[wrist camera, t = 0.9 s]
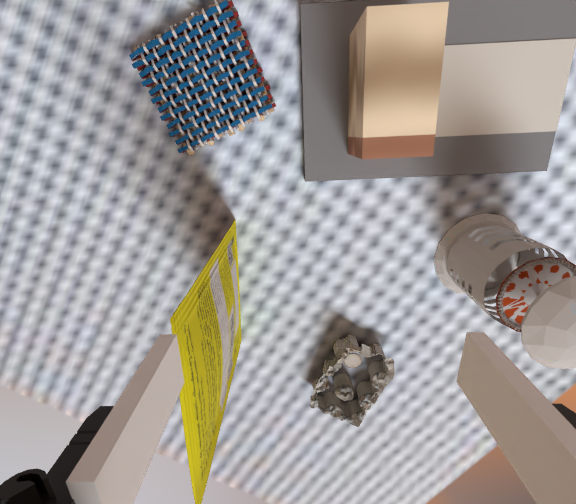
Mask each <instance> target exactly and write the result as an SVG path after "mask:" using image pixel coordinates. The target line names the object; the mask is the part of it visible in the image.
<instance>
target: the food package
mask: <svg viewBox="0 0 576 504" xmlns="http://www.w3.org/2000/svg"><path fill="white" fill-rule="evenodd" d="M235 221H236V220H234V222H233V224H232V226H231V227H230V229H229V230H228V232H227V233H226V235H225V236H224V238H223V239H222V241H221V242H220V244H219V246H218V247H217V249H216V250H215V252H214V253H213V255H212V256H211V258H210V259H209V261H208V262H207V264H206V265H205V267H204V269H203V270H202V272H201V273H200V275H199V276H198V278H197V279H196V281H195V283H194V284H193V286H192V287H191V289H190V290H189V292H188V293H187V295H186V296H185V298H184V299H183V301H182V302H181V303H180V304H179V306H178V308H177V309H176V311H175V312H174V313H173V316H172V317H171V319H170V322H171V325H172V333H173V334H177V340H178V346H179V353H180V359H181V365H182V371H183V378H184V384H183V387H182V389H181V391H180V394H179V396H180V403H181V411H182V418H183V426H184V433H185V441H186V448H187V454H188V461H189V468H190V474H191V482H192V488H193V494H194V499H195V504H201V502H202V497H203V494H204V491H205V487H206V483H207V480H208V476H209V472H210V468H211V463H212V459H213V455H214V451H215V447H216V443H217V439H218V434H219V430H220V426H221V422H222V418H223V414H224V410H225V406H226V402H227V398H228V393H229V389H230V385H231V381H232V377H233V373H234V369H235V365H236V361H237V357H238V353H239V348H240V344H241V340H242V339H241V320H240V294H239V274H238V255H237V241H236V222H235Z"/></svg>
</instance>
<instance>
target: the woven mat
mask: <svg viewBox="0 0 576 504" xmlns="http://www.w3.org/2000/svg"><path fill="white" fill-rule="evenodd" d="M214 2H215V4H210V5H209V9H208V10H207V11H206V12H205V11H204V9H203V8H202V10H201V12H200V13H199V12H198V11H197V12H195V13H196V15H197V16H195V14H194V12H192V13H191V15H192V16H190V17H189V18H187V17H186V18H185V20H186V22H184V23H183V22H182V21H181V22H179V23H180V26H179V27H178V25H177V24H174V25H175V28H176V30H174V28H173V25H170V28H171V31H167V30H165V31H164V32H165V34H164V35H163V36H162V35H161V34H156V39H155V38H154V39H153V40H152V41H151V39H149V40H148V44H147V45H145V43H142V46H143V47H140V46H139V45H138V46H136V47H135V48H134V49H133V50H134V52H133V53H132V54H130V55H129V56H130V58H131V60H132V61H134V60H136V59H138V58H139V59H140V61H137V62H135V63H133V64H132V66H133V67H134V68H137V69H138V71H139V70H141V69H142V68H144V70H143V71H142V72H140V73H139V75H140V76H141V78H142V79H144V78H146V77H148V76H149V78H150V79H147V80H145V81H143V82H141V83H142V84H143V86H146V87H149V86H151V85H153V86H154V88H153V89H152V90H150V91H149V93H150V95H151V96H153V95H155V94H157V96H158V97H156V98H153V99H152V100H151V101H152V103H153V104H154V103H156V104H160V103H161V104H162V106H161V107H159V108H158V110H159V112H160V113H161V112H163V111H165V110H166V111H167V114H165V115H163V116H161V117H160V118H161V120H162V121H163V120H165V121H166V120H168V119H170V118H171V120H172V122H171V123H169V124H167V127H168V129H170V128H172V127H174V126H175V128H176V130H175V131H172V132H170V133H169V135H170V137H172V136H173V137H174V136H176V135H178V134H179V136H180V137H181V138H180V139H178V140H176V141H175V142H176V144H177V145H178V144H180V143H182V142H183V147H182V148H180V149H177V150H178V152H179V153H181V152H182V153H183V152H185V151H187V153H188V154H189V155H193V154H194V153H195V151H194V150H193V148H194V147H196V150H197V149H199V148H198V145H199V146H200V147H201V146H202V147H203V146H204V143H203V142H205V144H206V145H207V144H209V145H211V146H212V145H213V144H214V138H213V137H215V136H216V138H217V139H220V137H222V136H223V137H225V133H224V132H226V134H229V135H230V136H231V135H233V134H235V131H234V129H233V128H234V127H236V129H237V130H239V131H243V130H244V129H245V124H244V122H246V124H248V123H250V122H254V120H253V118H254V117H256V116H257V117H258V119H259V120H260V121H263V120H264V117H266V113H267V115H268V114H269V113H271V112H273V111H274V108H273V107H275V106H276V105H275V103H273V104H272V103H271V100H270V99H271V98H272V96H271V94H269V95H268V93H267V91H268V90H269V89H271V88H270V85H267V86H264V84H263V81H265V79H264V77H260V75H259V73H260V72H262V71H263V70H262V68H261V67H260V68H258V69H257V68H256V66H255V64H257V63H258V62H257V59H254V60H253V58H252V56H251V55H252V54H254V53H253V50H252V49H251V50H249V49H248V47H247V46H248V45H250V43H249V41H248V40H247V41H245V39H244V38H245V37H246V36H247V33H246V31H244V32H241V29H240V28H239V27H240V26H241V25H242V24H241V22H240V21H238V22H237V21H236V17H237V16H239V15H238V12H237V11H236V12H233V11H232V9H231V7H232V6H234V5H233V3H232V0H231V1H229V2H228V1H227V0H219V2H220V4H218V2H217V0H214ZM223 12H224V13H223ZM212 19H214V20H212ZM209 20H212V21H209ZM226 22H228V25H227V23H226ZM200 24H201V28H200ZM217 27H218V29H217V30H216V31H215V32H214V30H213V29H215V28H217ZM189 30H191V32H189V34H188V31H189ZM231 32H232V33H231ZM204 34H205V35H206V36H204ZM178 37H180V38H178ZM221 37H222V38H223V40H219V39H220V38H221ZM218 40H219V41H218ZM194 41H196V42H194ZM235 42H236V43H235ZM169 43H170V44H169ZM168 44H169V45H168ZM209 45H210V47H209ZM225 46H226V47H227V48H226V49H225V50H224V51H223V50H222V48H223V47H225ZM183 47H185V48H183ZM156 49H158V52H157V50H156ZM198 49H200V51H198V52H197V51H196V50H198ZM173 51H174V53H173V54H171V52H173ZM239 51H240V52H239ZM150 52H152V53H151V54H150ZM213 53H214V54H215V55H213ZM146 54H148V55H147V56H145V55H146ZM187 55H189V57H188V56H187ZM229 55H230V56H231V59H226V57H227V56H229ZM165 57H166V58H165ZM161 58H162V59H161ZM202 58H204V60H205V61H201V59H202ZM154 61H155V62H156V64H155V63H154ZM176 61H179V63H177V64H176ZM217 62H218V64H217ZM241 62H243V64H242V63H241ZM151 63H152V66H150V64H151ZM233 64H234V65H235V67H234V68H233V69H232V70H231V68H230V66H231V65H233ZM169 65H170V67H169ZM207 67H208V68H209V69H208V70H207V71H206V70H205V68H207ZM166 68H167V69H166ZM182 69H183V70H184V71H183V72H182V73H181V72H180V70H182ZM247 69H248V70H247ZM245 70H247V71H246V72H245ZM155 72H157V74H156V75H155V74H154V73H155ZM221 72H222V73H223V74H222V73H221ZM197 74H198V75H197ZM237 74H238V75H239V77H237V78H235V77H234V75H237ZM174 75H175V76H174ZM170 77H172V78H170ZM209 77H212V78H213V79H210V78H209ZM186 79H188V81H187V82H185V80H186ZM248 79H249V80H248ZM225 80H226V81H227V83H226V81H225ZM160 81H161V82H162V83H161V84H160V83H159V82H160ZM249 81H250V82H249ZM164 82H165V83H164ZM241 82H242V83H243V85H242V86H241V87H239V86H238V84H239V83H241ZM177 83H179V86H178V84H177ZM214 85H217V88H215V89H214V87H213V86H214ZM189 87H192V90H189ZM168 88H169V89H168ZM229 88H230V89H229ZM255 88H256V89H255ZM165 89H166V92H165V93H164V91H163V90H165ZM230 90H231V92H230ZM182 91H183V94H182V93H181V92H182ZM245 91H246V93H247V95H244V96H243V95H242V93H243V92H245ZM179 94H180V95H179ZM219 94H220V95H221V97H218V95H219ZM258 95H259V97H260V99H259V97H258ZM194 96H196V98H197V99H193V97H194ZM233 97H234V99H233ZM173 98H174V100H173ZM169 99H170V101H168V100H169ZM248 99H250V101H251V103H250V104H248V105H246V102H245V101H246V100H248ZM209 100H210V101H209ZM234 100H235V101H234ZM186 101H187V102H188V103H186ZM222 102H224V103H225V104H226V105H223V106H222V104H221V103H222ZM261 103H262V104H263V106H264V107H263V106H262V104H261ZM198 104H200V105H201V106H200V107H199V108H198V106H197V105H198ZM177 105H178V107H179V108H178V107H177ZM173 106H174V107H175V108H176V109H174V110H173V108H172V107H173ZM237 106H238V107H237ZM190 108H191V109H192V112H191V110H190ZM213 108H214V109H213ZM238 108H239V109H238ZM251 108H254V111H255V112H253V113H250V111H249V109H251ZM227 110H228V111H229V114H227V115H226V112H225V111H227ZM202 112H204V114H205V116H202V114H201V113H202ZM265 112H266V113H265ZM181 113H182V115H183V117H182V115H181ZM241 114H242V116H243V118H242V117H241ZM176 115H179V118H177V116H176ZM194 116H195V117H196V120H195V119H194ZM217 116H218V118H219V119H218V120H217ZM231 118H232V120H233V122H232V123H230V121H229V119H231ZM207 120H208V122H209V124H206V122H205V121H207ZM182 122H183V124H184V126H181V124H180V123H182ZM220 124H222V126H223V127H221V125H220ZM198 125H200V127H201V128H200V127H199V126H198ZM196 128H197V129H196ZM209 129H212V130H213V133H211V132H210V130H209ZM185 131H187V132H188V135H186V133H185ZM190 132H191V133H190ZM203 133H204V134H203ZM200 135H201V136H202V138H201V136H200ZM204 135H205V136H204ZM193 137H194V138H195V140H196V141H195V140H194V138H193ZM189 139H191V140H192V141H193V142H192V143H190V141H189Z"/></svg>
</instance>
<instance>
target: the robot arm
mask: <svg viewBox="0 0 576 504" xmlns="http://www.w3.org/2000/svg"><path fill="white" fill-rule="evenodd" d="M457 383H458V384H459V386H460V387H461V389H462V390H463V392H464V393H465V395H466V396H467V398H468V399H469V401H470V403H471V404H472V406H473V407H474V409H475V410H476V412H477V413H478V415H479V416H480V418H481V419H482V421H483V422H484V424H485V425H486V427H487V429H488V430H489V432H490V433H491V435H492V436H493V438H494V439H495V441H496V442H497V444H498V445H499V447H500V448H501V449H502V451H503V453H504V455H505V456H506V458H507V459H508V460H509V462H510V464H511V465H512V467H513V468H514V470H515V471H516V473H517V474H518V476H519V477H520V479H521V480H522V482H523V484H524V485H525V486H526V488H527V490H528V491H529V493H530V494H531V496H532V497H533V499H534V500H535V502H536V503H537V504H576V413H574V412H573V411H571V410H570V409H568V408H567V407H565V406H564V405H562V404H551V403H550V402H549V401H548V399H547V398H546V397H545V396H544V395H543V394H542V393H541V392H540V391H539V390H538V389H537V388H536V387H535V386H534V385H533V384H532V383H531V382H530V380H529V379H528V378H527V377H526V376H525V375H524V374H523V373H522V372H521V371H520V370H519V369H518V368H517V367H516V366H515V365H514V364H513V363H512V361H511V360H510V359H509V358H508V357H507V356H506V355H505V354H504V353H503V352H502V351H501V350H500V349H499V348H498V347H497V346H496V345H495V343H494V342H493V341H492V340H491V339H490V338H489V337H488V336H487V335H486V334H485V333H484V332H467V334H466V339H465V344H464V348H463V353H462V358H461V363H460V367H459V372H458V377H457ZM183 384H184V378H183V371H182V365H181V359H180V353H179V346H178V340H177V334H168V335H159V337H158V338H157V340H156V341H155V343H154V345H153V346H152V348H151V349H150V351H149V352H148V354H147V356H146V357H145V359H144V360H143V362H142V363H141V365H140V366H139V368H138V370H137V371H136V373H135V374H134V376H133V377H132V379H131V381H130V382H129V384H128V385H127V387H126V388H125V390H124V392H123V393H122V395H121V396H120V398H119V399H118V401H117V402H116V404H115V406H100V407H99V408H98V409H97V410H96V411H94V412H93V413H92V414H91V415H90V416H88V417H87V418H86V420H85V421H84V423H83V424H82V426H81V427H80V428H79V430H78V431H77V434H75V435H74V437H73V438H72V440H71V441H70V443H69V445H68V446H67V447H66V448H65V449H64V451H63V452H62V454H61V455H60V457H59V458H58V459H57V461H56V462H55V464H54V465H53V467H52V468H51V469H50V471H49V472H48V474H46V472H45V471H43V470H40V469H30V470H26V471H23V472H21V473H18V474H16V475H14V476H13V477H11V478H9V479H8V480H6V481H5V482H4V483H3V484H2V485H0V504H133V503H134V500H135V498H136V496H137V493H138V491H139V488H140V486H141V484H142V481H143V479H144V477H145V474H146V472H147V470H148V467H149V465H150V462H151V460H152V458H153V455H154V453H155V451H156V448H157V446H158V444H159V441H160V439H161V436H162V434H163V432H164V429H165V427H166V425H167V422H168V420H169V418H170V415H171V413H172V410H173V408H174V406H175V403H176V401H177V399H178V396H179V394H180V391H181V389H182V387H183Z"/></svg>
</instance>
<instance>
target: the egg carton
mask: <svg viewBox="0 0 576 504" xmlns="http://www.w3.org/2000/svg"><path fill="white" fill-rule="evenodd" d="M333 349H334V353H335V355H336V357H335V358H333V359H331V360H325V362H324V365H323V376H322V377H321V378H320V379H315V380H314V382H313V388H314V392H313V395H312V396H311V404H310V407H311V408H315V407H316V408H319V409H320V410H322V412H323V413H324V414H330V415H332V416H333V417H336V418H338V419H340V420H341V421H343V420H347V421H348V422H349V423H351V424H353V425H355V426H357V427H359V426H360V424H361V422H362V420H363V418H364V417H365V415H366V412H367V410H369V409H370V408H371V405H372V404H375V403H376V400H377V398H378V397H379V395H380V394H381V393H382V391H383V389H384V387H385V386H386V385H387V384H388V383H389V382H390V381H391V380H392V378H393V376H394V360H393V359H391V358H387V359H386V358H385V355H384V354H383V351H382V349H381V346H380V345H378V344H376V343H372V344H371V345H370V346H366V345H364V344H362V347H360V346H358V343H357V339H356V337H355V336H352V335H350V334H349V335H348V336H346V337H345V338H343V339H337V340H336V341H335V343H334V345H333ZM354 351H355V352H359V353H360V354H361V355H362V356H363V357H372V356H375V355H378V354H381V355H382V357H383V359H382V361H374V362H372V363H371V364H370V365H369V366H368V372H369V375H370V378H371V379H370V381H362V382H360V383H359V384H358V385H357V387H356V390H357V394H358V398H359V399H358V400H352V399H353V398H354V392H353V386H352V382H351V379H350V377H349V375H347V374H345V373H340V374H337V375H336V376H335V377H334V379H333V383H334V390H335V392H329V393H327V394H325V395H324V396H321V395H317V393H318V392H320V391H324V390H325V389H329V387H330V386H329V379H328V376H334V372H336V371H338V370H339V369H340V368H342V363H343V362H344V363H345V365H346V366H347V367H350V368H355V367H358V366H359V365H360V364H361V362H362V359H361V356H360V355H359V354H357V353H350V352H354ZM349 353H350V354H349ZM340 399H341V400H343V401H346V400H350V401H348V402H347V403H343V402H341V400H340Z"/></svg>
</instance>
